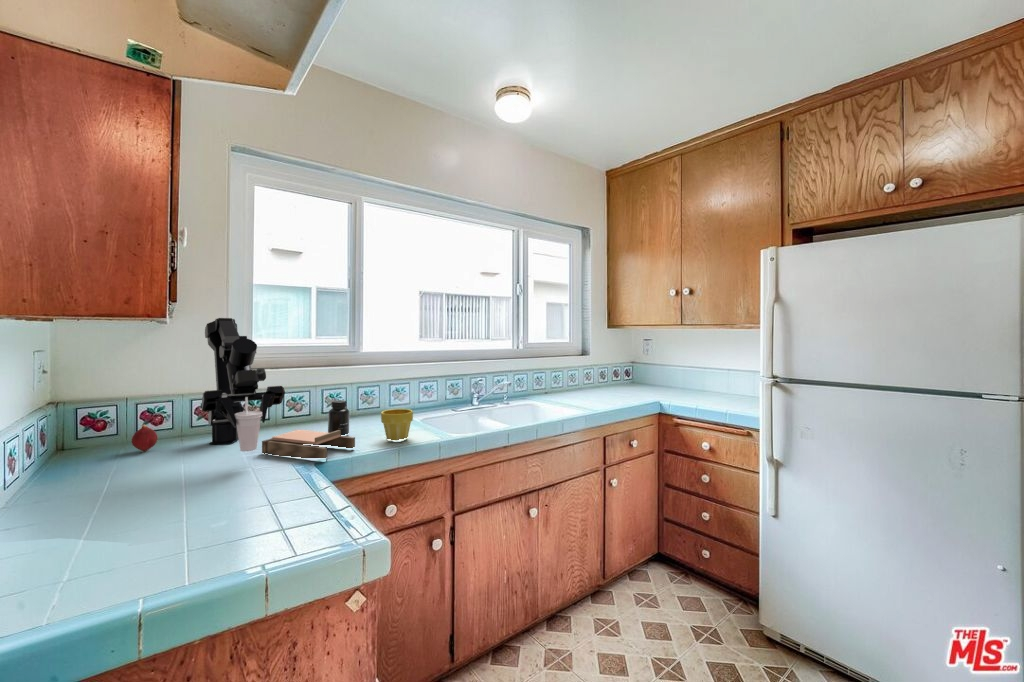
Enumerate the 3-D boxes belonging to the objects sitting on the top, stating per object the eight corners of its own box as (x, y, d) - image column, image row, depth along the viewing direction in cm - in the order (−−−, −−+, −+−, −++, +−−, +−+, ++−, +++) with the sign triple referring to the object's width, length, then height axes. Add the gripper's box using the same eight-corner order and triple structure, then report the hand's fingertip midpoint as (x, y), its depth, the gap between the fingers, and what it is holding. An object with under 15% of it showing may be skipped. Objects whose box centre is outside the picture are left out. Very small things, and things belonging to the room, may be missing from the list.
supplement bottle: (344, 438, 144) (344, 403, 144) (324, 438, 145) (324, 402, 144) (352, 433, 151) (352, 399, 151) (333, 433, 151) (333, 399, 151)
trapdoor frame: (262, 454, 125) (262, 441, 125) (297, 443, 138) (297, 430, 137) (323, 462, 118) (323, 448, 118) (354, 450, 131) (354, 437, 131)
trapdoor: (272, 449, 126) (272, 432, 126) (298, 441, 135) (298, 425, 135) (316, 455, 121) (316, 437, 121) (340, 446, 130) (340, 430, 130)
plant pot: (378, 437, 146) (379, 409, 146) (409, 435, 150) (409, 407, 150) (383, 445, 137) (383, 415, 136) (415, 442, 141) (415, 413, 141)
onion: (162, 449, 129) (162, 422, 128) (144, 454, 123) (144, 427, 123) (145, 448, 129) (145, 422, 129) (126, 453, 123) (126, 426, 123)
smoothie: (228, 450, 112) (228, 397, 111) (253, 444, 117) (253, 394, 117) (243, 454, 109) (243, 399, 108) (267, 448, 114) (267, 396, 114)
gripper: (203, 359, 109) (210, 409, 101) (283, 357, 121) (294, 401, 114) (198, 386, 115) (205, 435, 107) (275, 381, 127) (286, 425, 120)
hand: (249, 423), depth 112 cm, fingers closed on smoothie, 6 cm apart
